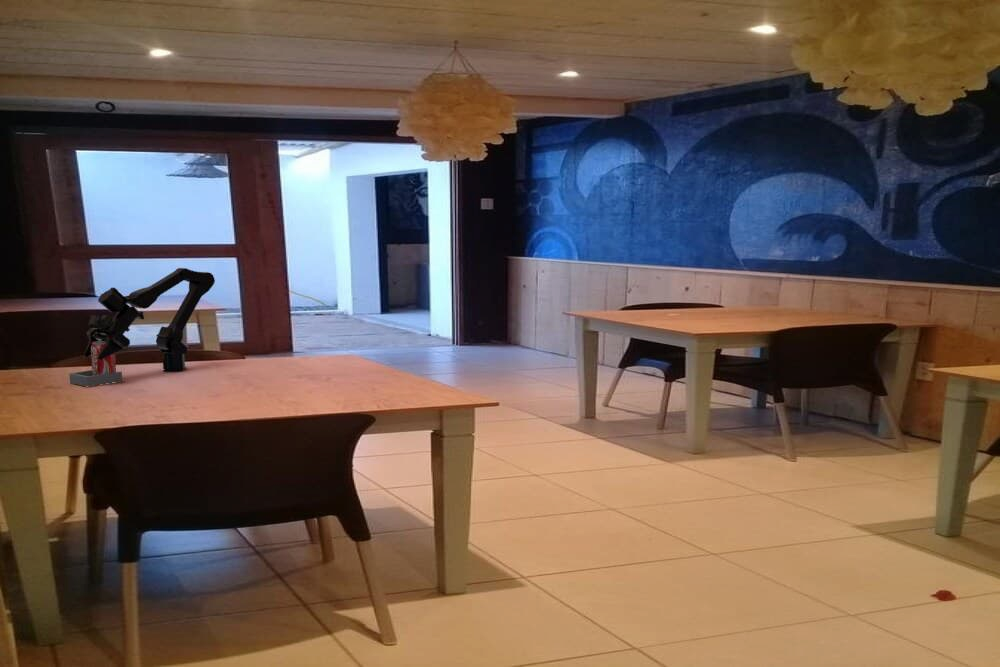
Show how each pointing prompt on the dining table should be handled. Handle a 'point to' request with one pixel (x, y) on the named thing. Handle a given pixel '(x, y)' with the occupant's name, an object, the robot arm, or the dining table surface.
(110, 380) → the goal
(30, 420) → the dining table surface
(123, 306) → the robot arm
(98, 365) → the soda can
